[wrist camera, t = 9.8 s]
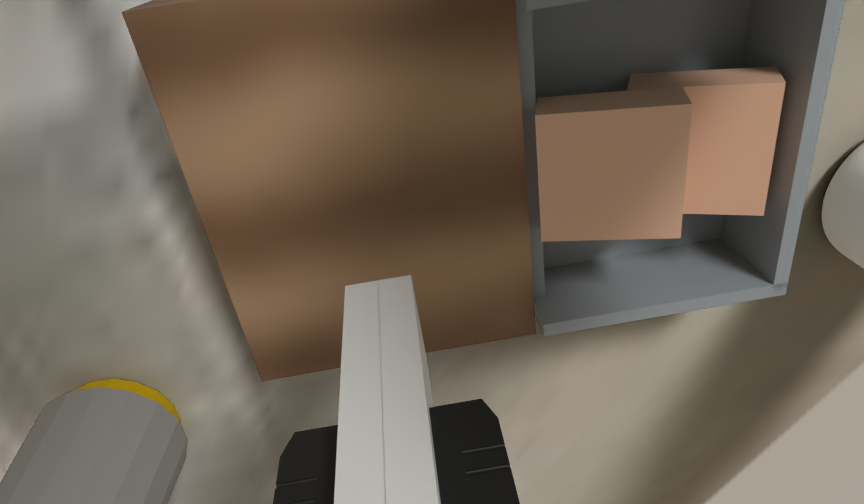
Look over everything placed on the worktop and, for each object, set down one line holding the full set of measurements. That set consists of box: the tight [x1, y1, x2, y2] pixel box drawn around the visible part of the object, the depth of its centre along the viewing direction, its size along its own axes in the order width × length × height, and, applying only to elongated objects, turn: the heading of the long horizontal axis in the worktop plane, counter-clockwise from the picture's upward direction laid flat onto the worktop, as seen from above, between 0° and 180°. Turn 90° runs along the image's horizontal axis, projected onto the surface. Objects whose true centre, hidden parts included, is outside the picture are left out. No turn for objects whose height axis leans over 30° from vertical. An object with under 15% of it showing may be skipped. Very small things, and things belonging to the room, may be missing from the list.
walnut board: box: [122, 0, 536, 381], centre depth 23 cm, size 15×12×3 cm
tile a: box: [535, 86, 692, 242], centre depth 22 cm, size 5×5×2 cm
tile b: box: [627, 66, 786, 216], centre depth 22 cm, size 5×5×2 cm
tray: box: [515, 0, 845, 337], centre depth 22 cm, size 13×10×4 cm
